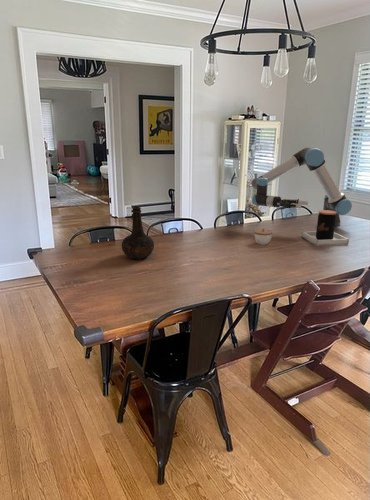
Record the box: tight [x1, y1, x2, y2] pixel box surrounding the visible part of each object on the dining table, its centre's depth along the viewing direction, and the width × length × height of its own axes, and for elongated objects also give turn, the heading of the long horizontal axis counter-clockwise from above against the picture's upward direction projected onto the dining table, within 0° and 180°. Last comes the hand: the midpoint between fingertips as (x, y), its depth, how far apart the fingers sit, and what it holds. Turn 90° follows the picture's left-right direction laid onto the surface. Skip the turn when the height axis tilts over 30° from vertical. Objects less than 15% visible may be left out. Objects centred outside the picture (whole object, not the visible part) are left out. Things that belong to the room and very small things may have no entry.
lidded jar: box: [254, 228, 273, 246], centre depth 233 cm, size 11×11×9 cm
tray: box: [301, 230, 350, 247], centre depth 241 cm, size 21×21×4 cm
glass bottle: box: [121, 206, 155, 260], centre depth 203 cm, size 18×18×28 cm
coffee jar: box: [316, 209, 336, 240], centre depth 238 cm, size 11×11×18 cm
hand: (304, 204), depth 247 cm, fingers open, 13 cm apart
